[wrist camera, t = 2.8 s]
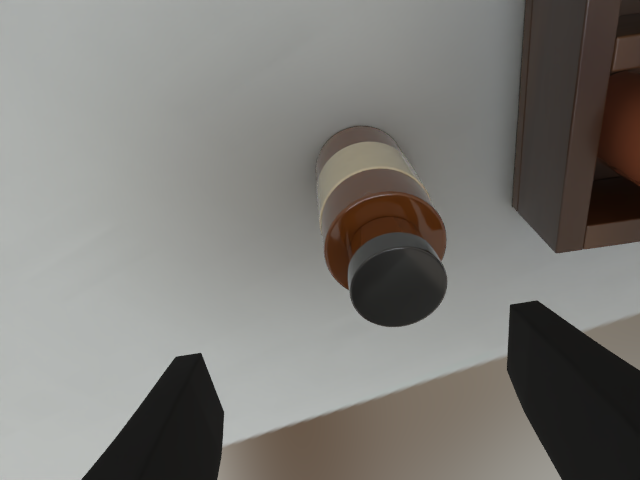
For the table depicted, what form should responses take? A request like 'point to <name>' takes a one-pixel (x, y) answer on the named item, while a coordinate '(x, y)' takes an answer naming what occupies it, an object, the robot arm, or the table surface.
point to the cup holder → (573, 123)
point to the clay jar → (622, 126)
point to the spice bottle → (379, 228)
